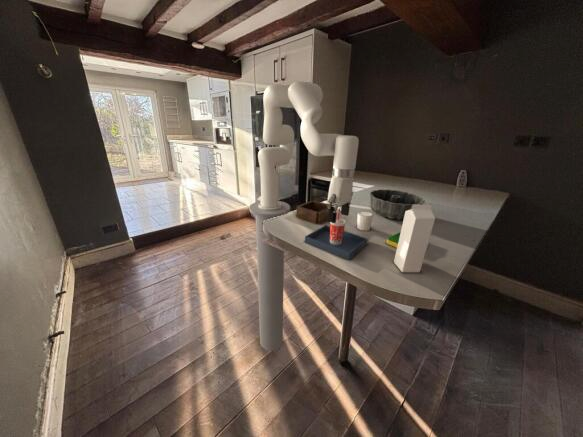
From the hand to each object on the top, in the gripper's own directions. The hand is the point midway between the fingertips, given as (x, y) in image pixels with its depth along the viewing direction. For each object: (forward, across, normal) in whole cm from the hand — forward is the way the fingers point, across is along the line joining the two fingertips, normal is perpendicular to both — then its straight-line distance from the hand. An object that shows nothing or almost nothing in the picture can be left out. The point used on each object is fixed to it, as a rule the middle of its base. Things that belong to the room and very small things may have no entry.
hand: (338, 218), depth 87 cm
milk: (+11, -2, +26) cm, 28 cm away
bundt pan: (+11, -50, +6) cm, 51 cm away
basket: (+11, -18, -22) cm, 30 cm away
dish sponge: (+11, -20, +20) cm, 30 cm away
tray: (+11, 0, 0) cm, 11 cm away
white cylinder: (+11, -22, +2) cm, 24 cm away
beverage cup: (+10, 0, 0) cm, 10 cm away
